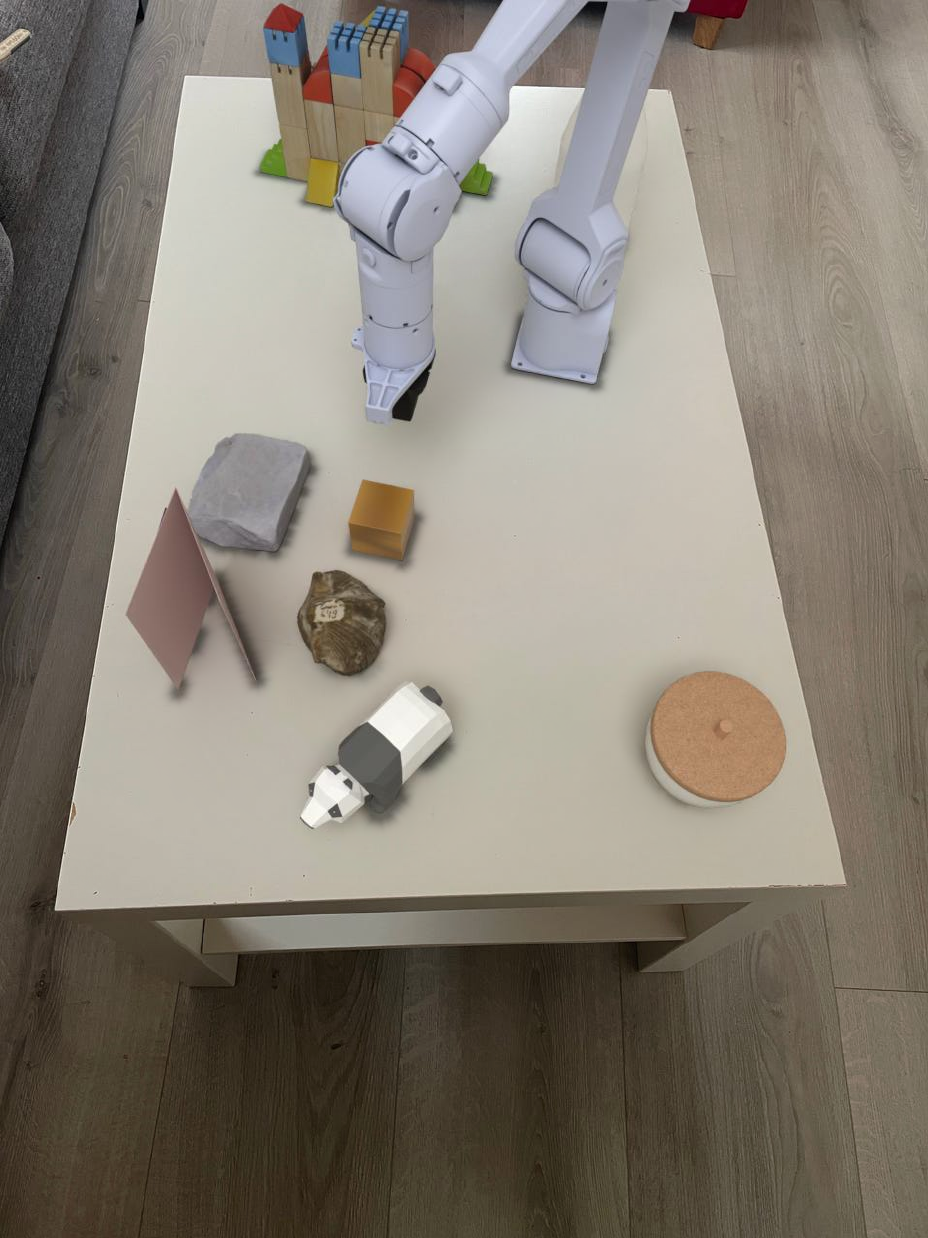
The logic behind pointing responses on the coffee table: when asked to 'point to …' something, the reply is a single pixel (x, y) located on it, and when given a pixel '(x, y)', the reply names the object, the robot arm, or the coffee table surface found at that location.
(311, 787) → the giant panda
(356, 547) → the ochre block
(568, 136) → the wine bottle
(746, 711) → the trinket box
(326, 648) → the fossilized seashell
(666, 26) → the robot arm
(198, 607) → the greeting card
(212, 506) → the stone block
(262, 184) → the coffee table surface
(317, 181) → the block set
